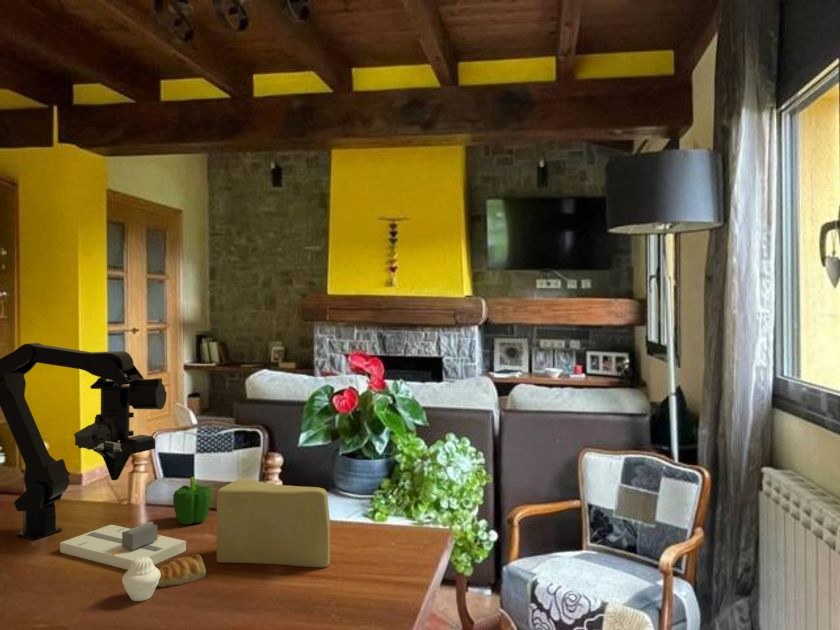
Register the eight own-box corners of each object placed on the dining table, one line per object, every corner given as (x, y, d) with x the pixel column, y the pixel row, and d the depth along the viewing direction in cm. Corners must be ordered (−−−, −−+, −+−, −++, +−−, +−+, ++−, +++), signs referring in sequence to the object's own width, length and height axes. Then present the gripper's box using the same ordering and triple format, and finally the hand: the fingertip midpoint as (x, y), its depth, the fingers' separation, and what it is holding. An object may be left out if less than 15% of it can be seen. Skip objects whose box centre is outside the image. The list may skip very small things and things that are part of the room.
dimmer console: (60, 552, 129) (60, 541, 129) (111, 533, 140) (111, 523, 140) (137, 572, 120) (137, 560, 120) (185, 550, 131) (185, 540, 131)
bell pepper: (203, 528, 144) (204, 484, 144) (167, 527, 144) (168, 483, 144) (216, 516, 153) (216, 474, 153) (182, 515, 153) (182, 474, 153)
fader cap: (122, 547, 126) (122, 529, 126) (146, 537, 131) (146, 520, 131) (132, 549, 125) (133, 532, 125) (157, 540, 130) (157, 522, 130)
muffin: (132, 588, 113) (132, 549, 113) (166, 589, 113) (166, 550, 113) (114, 605, 107) (115, 563, 107) (150, 606, 107) (151, 564, 107)
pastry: (158, 593, 112) (158, 572, 112) (143, 581, 117) (143, 561, 116) (209, 578, 118) (209, 558, 118) (193, 567, 123) (193, 548, 123)
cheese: (338, 557, 128) (339, 483, 128) (319, 577, 119) (319, 497, 119) (240, 546, 134) (240, 475, 134) (214, 564, 124) (214, 487, 124)
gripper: (52, 410, 136) (51, 483, 136) (113, 418, 128) (112, 495, 128) (98, 404, 146) (97, 471, 146) (157, 410, 138) (156, 481, 138)
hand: (114, 479), depth 140 cm, fingers closed
